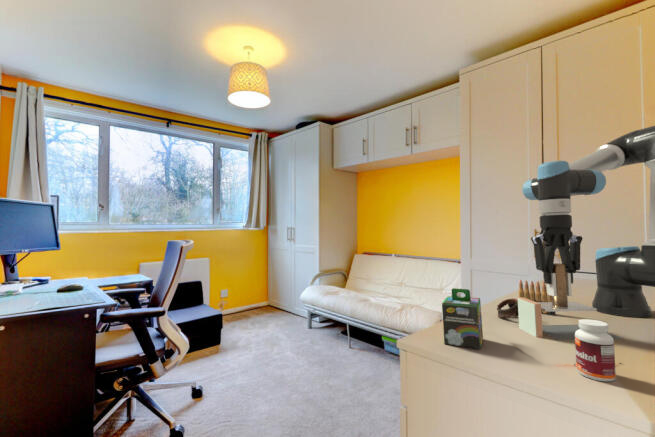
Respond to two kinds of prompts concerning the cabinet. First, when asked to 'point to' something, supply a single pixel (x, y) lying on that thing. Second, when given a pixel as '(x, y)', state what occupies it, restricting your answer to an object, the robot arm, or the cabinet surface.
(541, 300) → the ammunition clip
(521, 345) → the cabinet surface
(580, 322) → the pill bottle
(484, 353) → the cabinet surface
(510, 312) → the brown sandal
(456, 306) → the chalk box
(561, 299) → the turner
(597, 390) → the cabinet surface
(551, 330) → the mat
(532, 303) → the tile
